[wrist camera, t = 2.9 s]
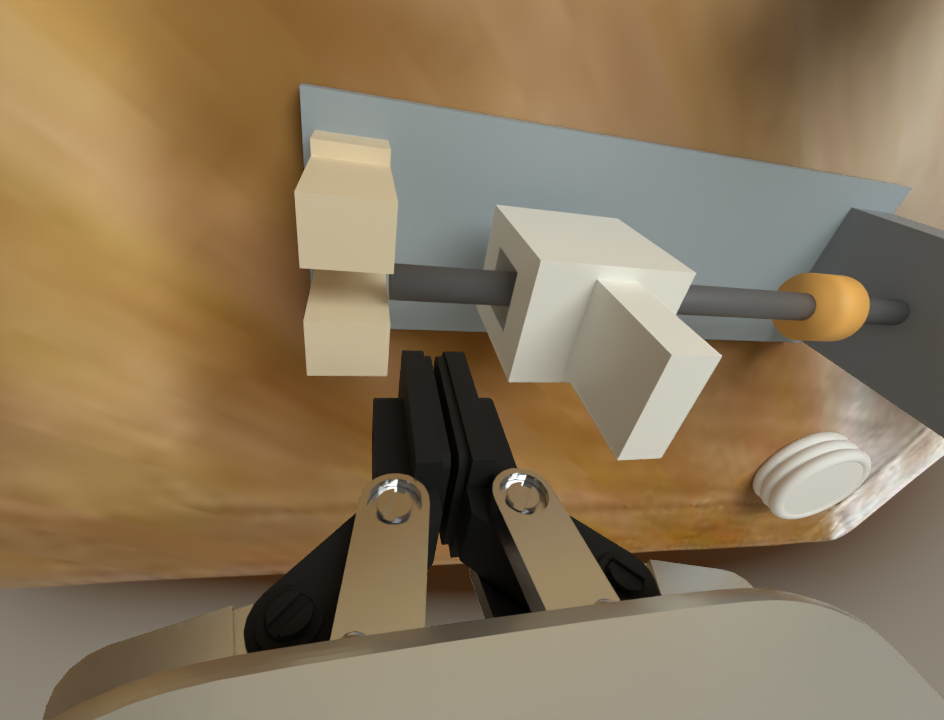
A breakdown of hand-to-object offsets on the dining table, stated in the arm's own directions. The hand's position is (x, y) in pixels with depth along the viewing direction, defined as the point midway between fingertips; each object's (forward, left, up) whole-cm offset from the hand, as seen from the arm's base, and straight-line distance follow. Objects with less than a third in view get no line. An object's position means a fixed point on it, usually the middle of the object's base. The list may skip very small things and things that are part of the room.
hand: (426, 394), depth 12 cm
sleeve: (0, +7, -9) cm, 11 cm away
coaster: (+21, +42, -13) cm, 49 cm away
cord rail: (0, +13, -13) cm, 18 cm away
